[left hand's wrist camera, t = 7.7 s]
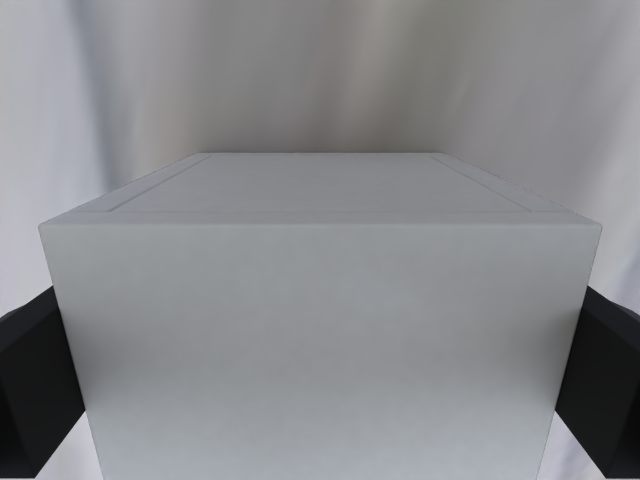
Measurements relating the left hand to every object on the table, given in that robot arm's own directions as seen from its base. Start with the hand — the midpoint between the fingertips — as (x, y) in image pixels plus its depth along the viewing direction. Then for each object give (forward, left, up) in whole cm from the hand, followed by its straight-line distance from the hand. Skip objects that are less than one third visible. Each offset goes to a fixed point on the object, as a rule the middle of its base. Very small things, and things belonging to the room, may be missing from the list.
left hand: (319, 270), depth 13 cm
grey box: (0, +6, -5) cm, 8 cm away
